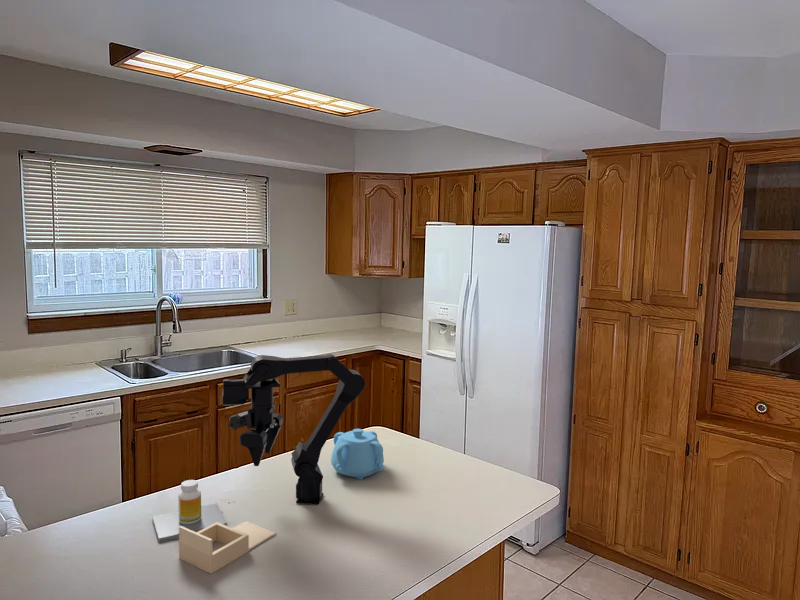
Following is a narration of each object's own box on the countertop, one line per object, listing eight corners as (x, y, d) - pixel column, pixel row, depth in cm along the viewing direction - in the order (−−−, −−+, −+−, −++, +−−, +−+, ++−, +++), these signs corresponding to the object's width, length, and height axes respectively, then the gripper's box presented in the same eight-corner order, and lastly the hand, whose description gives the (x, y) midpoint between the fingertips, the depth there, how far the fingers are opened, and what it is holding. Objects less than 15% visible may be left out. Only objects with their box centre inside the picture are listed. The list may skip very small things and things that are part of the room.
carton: (245, 522, 145) (245, 494, 144) (276, 534, 139) (276, 505, 139) (179, 558, 128) (178, 526, 128) (211, 573, 123) (210, 540, 122)
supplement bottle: (204, 520, 144) (204, 483, 143) (183, 527, 140) (182, 489, 139) (196, 512, 148) (196, 476, 147) (175, 518, 144) (174, 482, 143)
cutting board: (216, 506, 153) (216, 503, 153) (227, 526, 143) (227, 522, 143) (152, 520, 145) (152, 516, 145) (158, 542, 135) (158, 538, 135)
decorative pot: (329, 482, 170) (329, 439, 169) (332, 461, 186) (333, 421, 185) (383, 482, 171) (384, 439, 170) (382, 461, 187) (383, 421, 185)
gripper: (245, 392, 161) (245, 445, 163) (219, 412, 143) (219, 471, 145) (283, 394, 161) (283, 447, 162) (262, 414, 142) (262, 473, 144)
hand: (262, 459), depth 153 cm, fingers open, 9 cm apart
